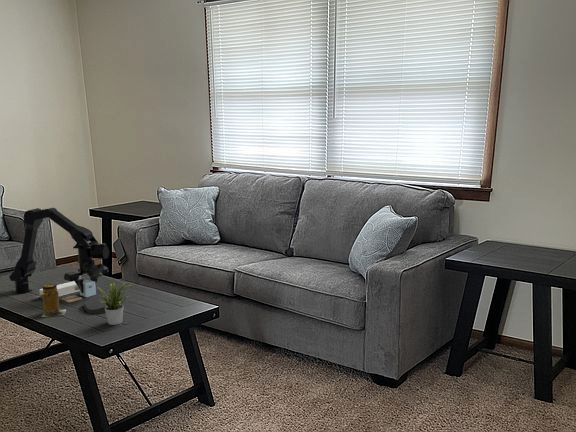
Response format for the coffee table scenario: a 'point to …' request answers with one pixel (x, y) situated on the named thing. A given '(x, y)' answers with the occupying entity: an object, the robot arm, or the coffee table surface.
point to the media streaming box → (96, 305)
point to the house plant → (114, 304)
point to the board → (71, 298)
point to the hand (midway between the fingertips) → (87, 291)
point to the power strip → (61, 289)
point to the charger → (88, 288)
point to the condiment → (51, 301)
